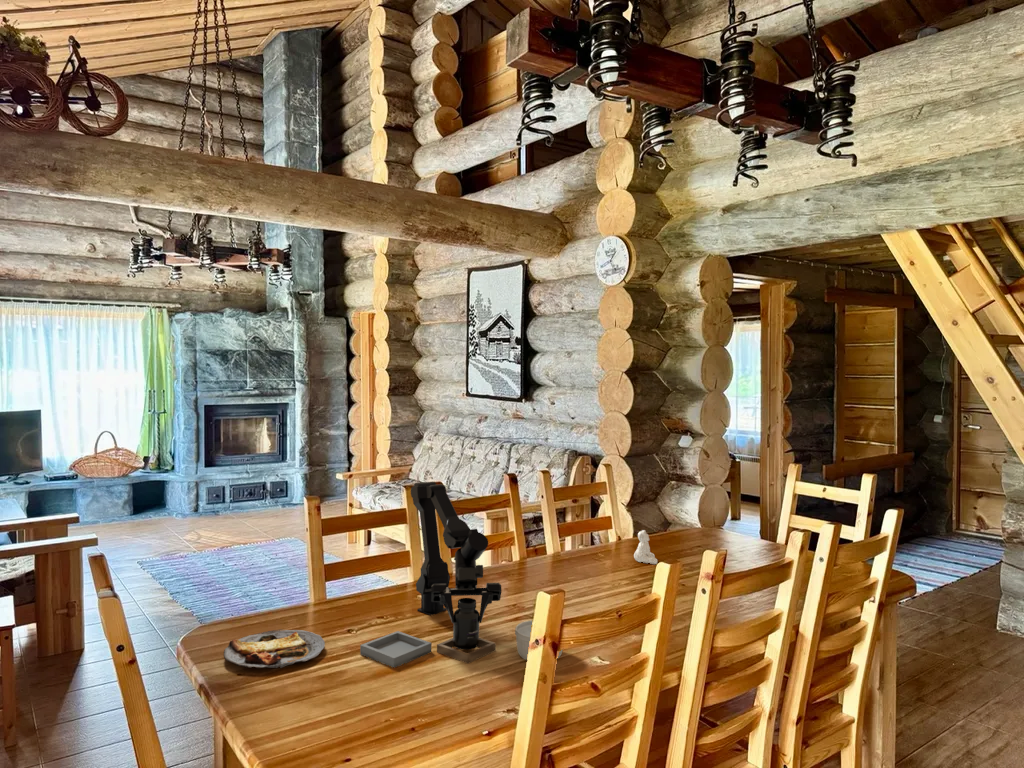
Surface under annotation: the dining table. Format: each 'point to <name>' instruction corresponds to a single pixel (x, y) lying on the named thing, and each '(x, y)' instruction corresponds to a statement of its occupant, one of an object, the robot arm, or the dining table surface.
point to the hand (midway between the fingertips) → (466, 622)
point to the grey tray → (395, 649)
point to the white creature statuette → (644, 549)
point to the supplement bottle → (466, 625)
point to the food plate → (273, 648)
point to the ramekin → (524, 638)
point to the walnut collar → (462, 656)
